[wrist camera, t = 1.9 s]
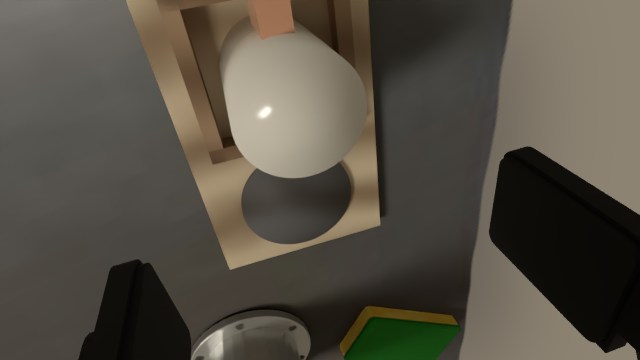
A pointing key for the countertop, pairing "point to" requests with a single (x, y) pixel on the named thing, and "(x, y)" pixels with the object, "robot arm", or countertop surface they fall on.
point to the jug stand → (218, 143)
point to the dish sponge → (398, 335)
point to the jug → (288, 94)
